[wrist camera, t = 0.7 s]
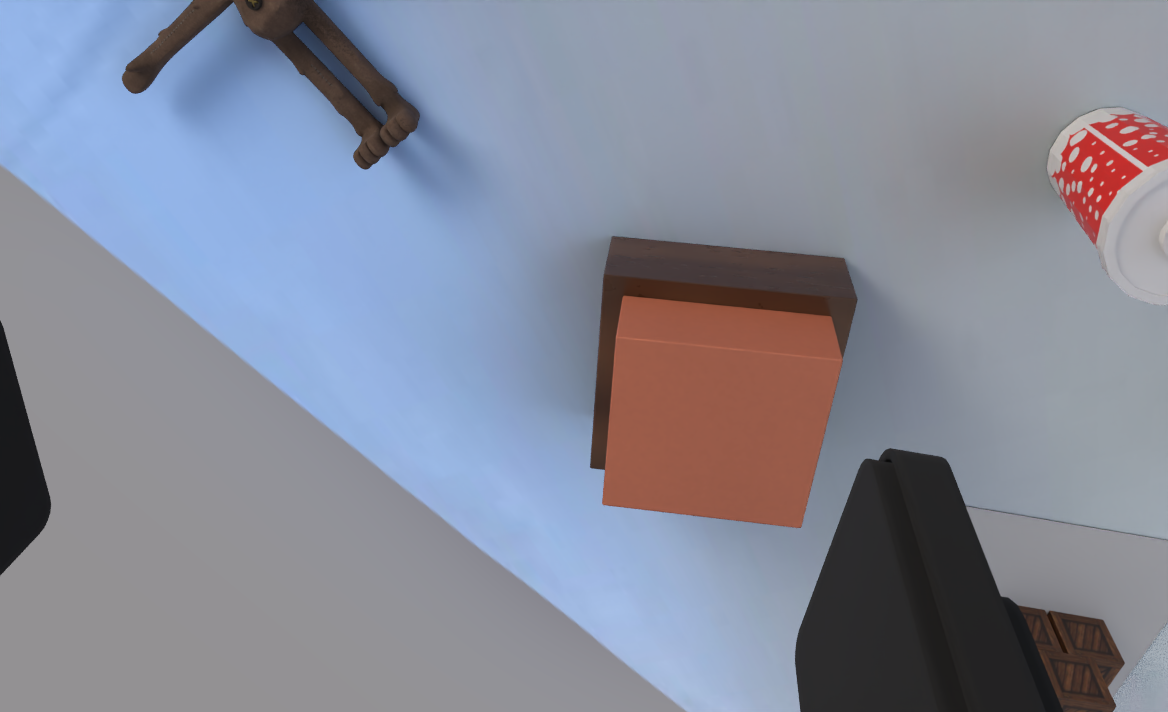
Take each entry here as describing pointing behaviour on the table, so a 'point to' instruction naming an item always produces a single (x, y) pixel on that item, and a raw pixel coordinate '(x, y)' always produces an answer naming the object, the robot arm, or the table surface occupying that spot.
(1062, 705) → the stack of crates
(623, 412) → the stack top
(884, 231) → the table surface
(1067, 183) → the beverage cup
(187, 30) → the brown creature figurine
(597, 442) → the stack base
